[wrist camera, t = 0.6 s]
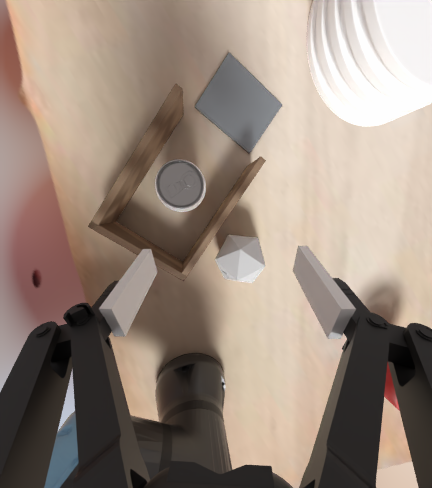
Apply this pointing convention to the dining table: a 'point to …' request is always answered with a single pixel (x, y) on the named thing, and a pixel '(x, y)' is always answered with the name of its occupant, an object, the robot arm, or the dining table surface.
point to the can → (180, 185)
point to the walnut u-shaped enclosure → (134, 175)
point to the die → (240, 258)
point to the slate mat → (238, 104)
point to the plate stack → (371, 57)
